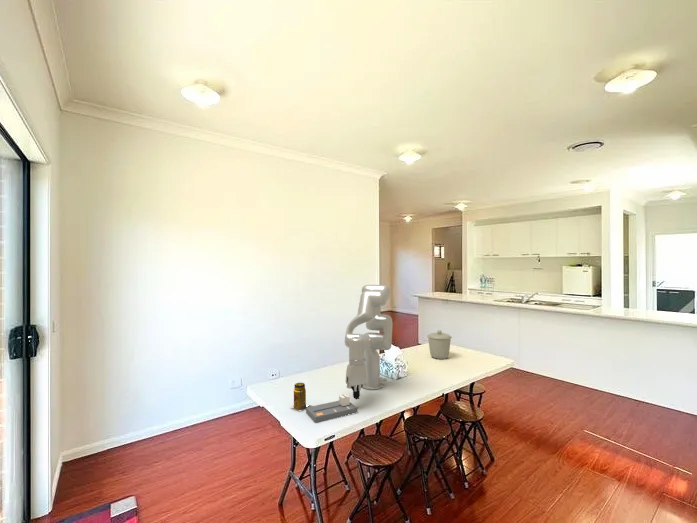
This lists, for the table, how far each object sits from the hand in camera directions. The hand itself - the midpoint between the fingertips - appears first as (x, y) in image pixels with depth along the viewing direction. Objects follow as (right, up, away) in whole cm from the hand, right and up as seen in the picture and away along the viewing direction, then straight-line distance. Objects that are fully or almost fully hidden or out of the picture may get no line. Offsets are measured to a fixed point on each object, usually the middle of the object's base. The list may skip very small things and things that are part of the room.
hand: (356, 398), depth 170 cm
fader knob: (-6, -2, -3) cm, 7 cm away
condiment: (-28, -5, 0) cm, 28 cm away
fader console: (-12, -5, -6) cm, 14 cm away
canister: (+66, -5, +89) cm, 111 cm away
